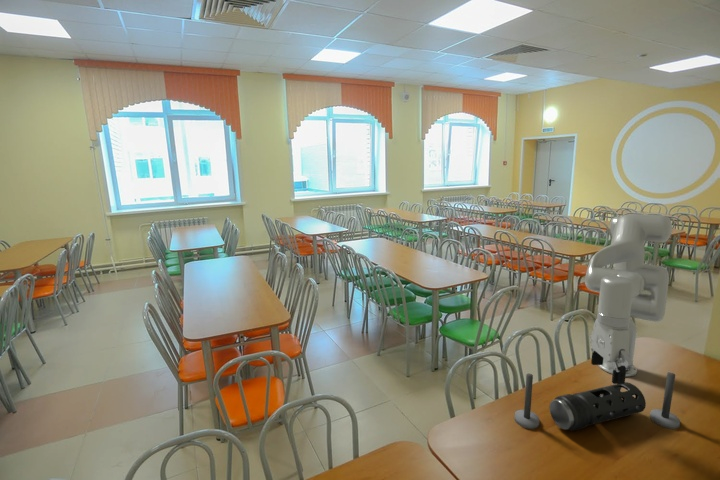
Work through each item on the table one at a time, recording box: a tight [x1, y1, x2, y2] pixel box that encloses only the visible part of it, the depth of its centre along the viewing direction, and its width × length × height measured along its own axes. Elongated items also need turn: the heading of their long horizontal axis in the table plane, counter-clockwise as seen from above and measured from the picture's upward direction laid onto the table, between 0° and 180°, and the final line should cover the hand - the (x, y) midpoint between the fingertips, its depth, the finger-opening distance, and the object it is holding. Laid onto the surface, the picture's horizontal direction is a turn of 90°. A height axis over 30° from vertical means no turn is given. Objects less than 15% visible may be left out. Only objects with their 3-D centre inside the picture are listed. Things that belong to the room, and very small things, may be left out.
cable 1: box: [514, 373, 540, 430], centre depth 111 cm, size 7×7×16 cm
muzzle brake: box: [549, 381, 647, 431], centre depth 111 cm, size 10×28×10 cm, turn 105°
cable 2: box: [649, 372, 681, 430], centre depth 109 cm, size 7×7×16 cm
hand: (607, 373), depth 105 cm, fingers open, 9 cm apart
